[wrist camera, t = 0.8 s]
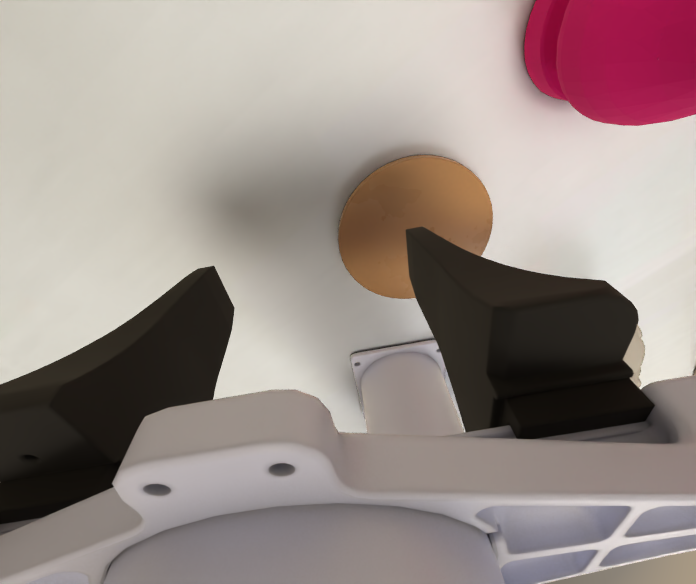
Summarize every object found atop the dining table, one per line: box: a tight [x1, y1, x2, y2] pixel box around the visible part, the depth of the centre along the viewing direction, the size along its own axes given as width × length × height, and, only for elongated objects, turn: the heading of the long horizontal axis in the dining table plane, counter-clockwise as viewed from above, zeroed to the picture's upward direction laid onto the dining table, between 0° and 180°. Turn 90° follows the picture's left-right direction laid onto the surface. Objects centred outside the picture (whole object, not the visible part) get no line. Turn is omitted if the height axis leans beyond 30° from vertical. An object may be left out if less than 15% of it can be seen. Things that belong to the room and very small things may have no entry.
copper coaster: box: [338, 155, 493, 299], centre depth 22 cm, size 10×10×1 cm
